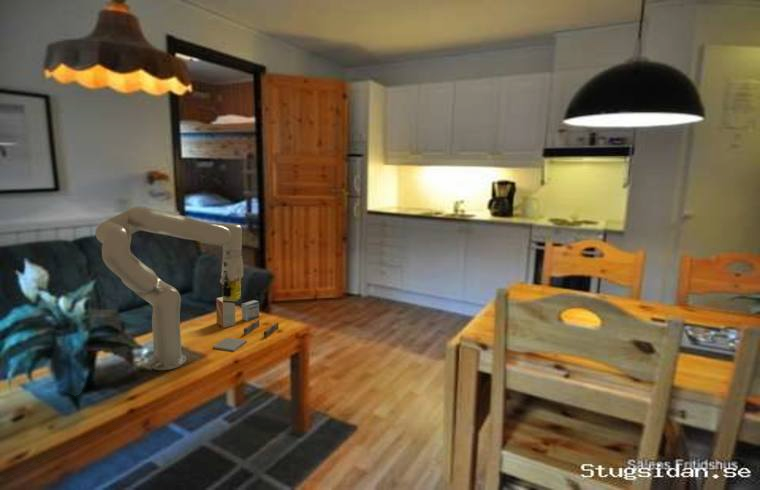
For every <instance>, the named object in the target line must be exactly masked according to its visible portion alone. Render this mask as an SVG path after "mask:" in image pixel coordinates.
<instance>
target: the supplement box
mask: <svg viewBox="0 0 760 490" xmlns="http://www.w3.org/2000/svg"><path fill="white" fill-rule="evenodd" d="M226 280H228V279H227V278H226ZM226 283H227V284H228V282H226ZM230 287H231V296H230V297H226V296H223V295H222V297H223V302H226V303H235V304H237V303H238V302H239V301H241V299H242V297H241V296H242V279H241V278H239V277H237V278H235V281H231V284H230Z"/></svg>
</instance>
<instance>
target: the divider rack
mask: <svg viewBox="0 0 760 490" xmlns="http://www.w3.org/2000/svg"><path fill="white" fill-rule="evenodd" d="M258 327H260V319H259V320H258V319H257V320H255V321H254V322H252V323H250V324H248V325H247V326H246V327H244V328H243V335H245V336H247V335H248V334H251V332H253V331H254V330H255V329H257V328H258ZM277 330H279V322H275V323H273V324H272V325H271V326H269V327H268V328H266V329H265V330H264V331H263V338H264V339H267V338H268V337H270V336H271V335H272V334H273V333H274V332H276V331H277Z"/></svg>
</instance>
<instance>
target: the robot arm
mask: <svg viewBox="0 0 760 490" xmlns="http://www.w3.org/2000/svg"><path fill="white" fill-rule="evenodd" d="M140 230H141V231H143V232H148V233H152V234H158V235H165V236H169V237H174V238H178V239H183V240H190V241H196V242H197V241H198V242H201V243H202V242H203V243H208V244H211V245H216V246H217V245H218V246H222V263H221V274H220V275H221V277H220V279H219V283H220V285H221V286H222V297H223V296H226V297H230V296H231V287H230V284H231V281H235V278H237V277H239V278H241V280H242V278H243V277H244V260H243V256H242V243H243V236H242V235H243V232H242V231H243V228H242V226H241V225H240V224H237V223H227V224H218V223H217V224H216V223H208V222H205V221H201V220H197V219H194V218H192V217H188V216H185V215H181V214H177V213H172V212H167V211H163V210H158V209H156V208H155V209H154V208H152V207H151V208H150V207H146V206H142V205H141V206H139V205H138V206H134V207H132V208H129V209H128V210H126V211H123V212H121V213H118V214H117V215H115V216H112V217H110V218H108V219H106V220H105V221H103V222H101V223H100V224H99V225H98V226H97V227H96V229H95V237H96V239H97V241H98V242H99V243H101V244H102V246H101V257H102V261H103V263H104V264H105V266H106V267H107V268H108V269H109V270H110V271H112V273H114V274H115V275H116V276H117V277H118V278H120V279H121V282H122V283H123V284H124V285H125V286H126V288H129V290H131V291H132V292H134V294H136V295H137V296H138V297H140V298H141V299H143V300H144V301H146V302H147V303H149V304H150V305H151V306H152V316H151V326H152V342H153V356H152V357H151V358H152V359H151V360H150V361H149V362H147V363H146V364H145V365H144V367H145V368H146V369H153V370H155V371H168V370H174V369H177V368H179V367H181V366H183V365H184V364H186V362H187V357H186V355H184V354H182V339H181V338H182V336H181V335H182V334H181V323H180V322H181V321H180V320H181V317H180V313H181V311H180V310H181V304H182V303H181V302H182V299H181V297H182V296H181V294H180V292H179V290H177V289H176V287H174V286H172V285H170V284H169V283H166V282H165V281H163V280H162V279H161V278H160V277H158V275H157V274H156V272H155V271H154V270H153V269H152V268H150V267H148V266H147V265H146V264H144V262H142V261H141V260H140V259H139V258H137V256H136V255H134V254H133V253H132V251H131V242H132V235H133V234H134V233H137V232H138V231H140ZM226 278H227V279H228V280H226ZM226 282H228V284H227V283H226Z"/></svg>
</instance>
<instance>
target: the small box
mask: <svg viewBox="0 0 760 490" xmlns="http://www.w3.org/2000/svg"><path fill="white" fill-rule="evenodd" d="M215 305H216V306H215V307H216V309H215V310H216V312H215V313H216V324H218V325H219V326H221V327H222V328H223V329H224V328H229V327H233V326H236V303H226V302H223V296H221V297H216V298H215Z"/></svg>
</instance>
